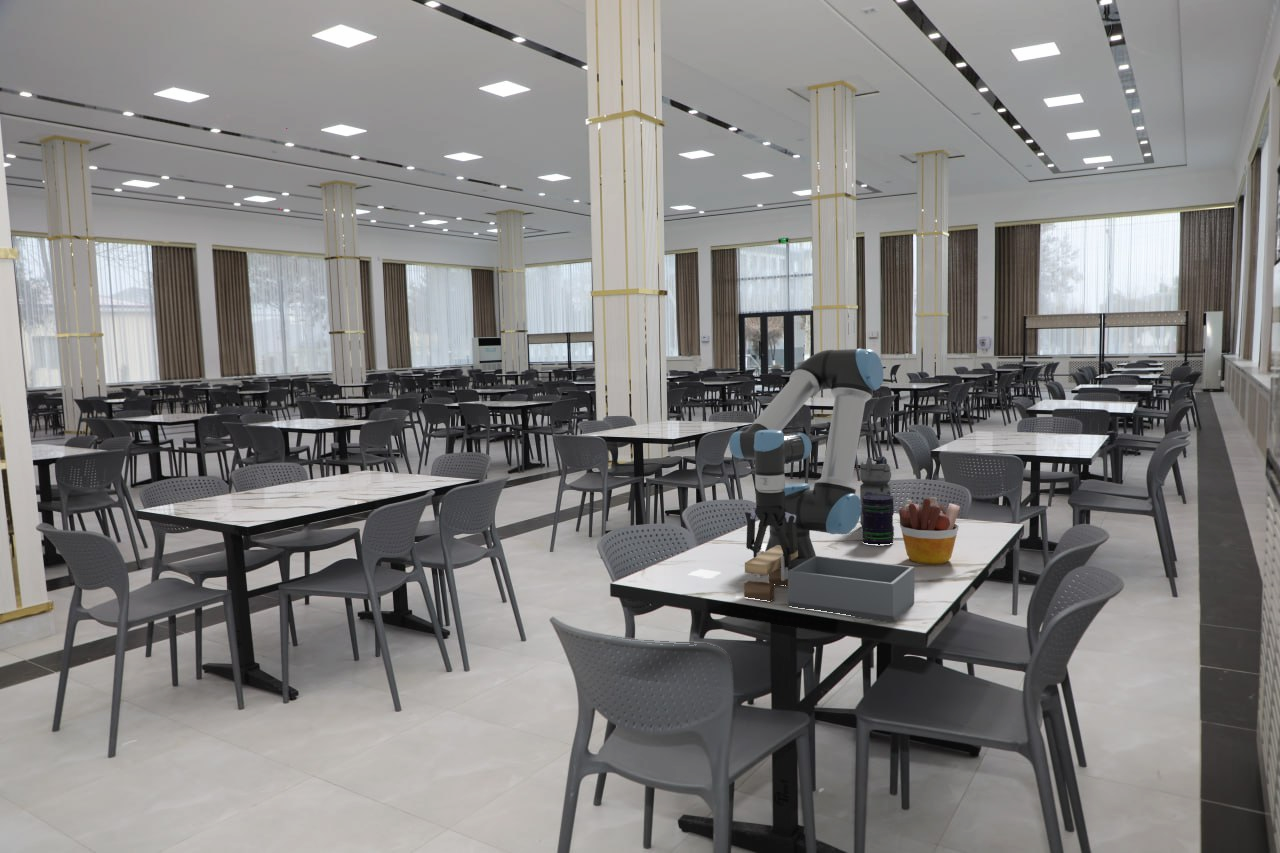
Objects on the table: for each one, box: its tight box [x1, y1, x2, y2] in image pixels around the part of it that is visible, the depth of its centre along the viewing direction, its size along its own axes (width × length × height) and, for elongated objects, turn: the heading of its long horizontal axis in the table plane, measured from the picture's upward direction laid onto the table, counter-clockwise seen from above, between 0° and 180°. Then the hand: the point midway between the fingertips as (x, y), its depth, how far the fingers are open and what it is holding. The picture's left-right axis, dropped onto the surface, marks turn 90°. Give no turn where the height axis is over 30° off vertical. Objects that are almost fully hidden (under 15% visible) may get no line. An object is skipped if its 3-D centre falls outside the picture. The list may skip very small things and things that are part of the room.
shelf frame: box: [787, 555, 915, 623], centre depth 210 cm, size 26×18×9 cm
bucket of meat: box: [898, 496, 961, 565], centre depth 252 cm, size 20×16×20 cm
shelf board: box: [744, 545, 798, 576], centre depth 224 cm, size 20×6×2 cm, turn 147°
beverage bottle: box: [859, 455, 892, 527], centre depth 300 cm, size 10×13×25 cm
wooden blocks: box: [743, 568, 791, 602], centre depth 224 cm, size 18×7×4 cm, turn 147°
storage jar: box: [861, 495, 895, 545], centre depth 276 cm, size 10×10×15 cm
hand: (772, 577), depth 224 cm, fingers closed on shelf board, 6 cm apart
